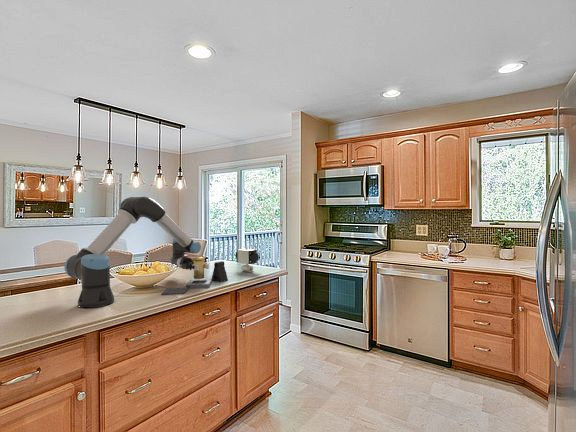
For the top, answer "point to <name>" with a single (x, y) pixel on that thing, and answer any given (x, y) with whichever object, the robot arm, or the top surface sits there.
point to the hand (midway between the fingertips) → (203, 267)
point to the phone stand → (219, 272)
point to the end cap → (200, 262)
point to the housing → (199, 283)
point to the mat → (175, 291)
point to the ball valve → (247, 258)
